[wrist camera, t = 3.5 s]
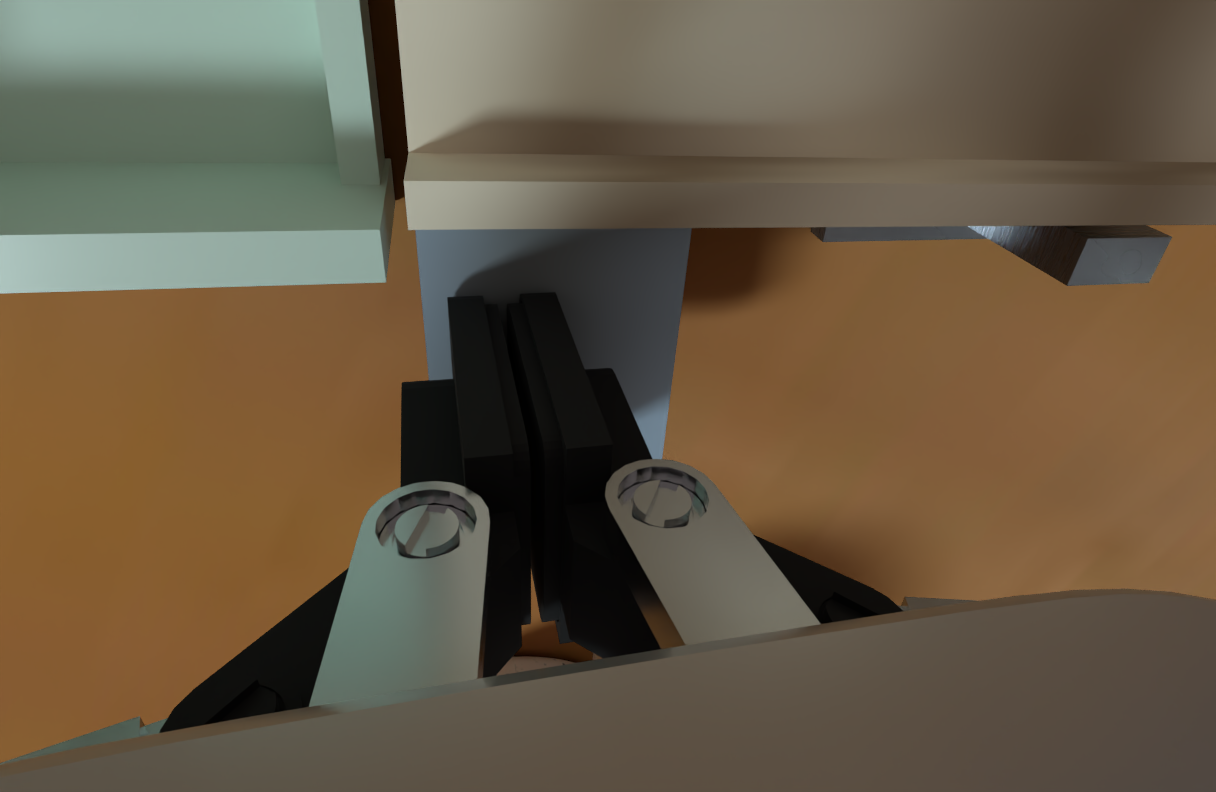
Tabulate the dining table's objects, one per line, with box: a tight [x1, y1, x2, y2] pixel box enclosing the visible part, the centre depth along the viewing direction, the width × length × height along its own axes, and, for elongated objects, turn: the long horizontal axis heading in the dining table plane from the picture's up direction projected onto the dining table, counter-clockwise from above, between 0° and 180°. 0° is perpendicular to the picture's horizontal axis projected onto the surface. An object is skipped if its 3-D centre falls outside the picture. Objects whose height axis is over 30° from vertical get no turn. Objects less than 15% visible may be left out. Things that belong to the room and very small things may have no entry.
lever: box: [395, 0, 1216, 459], centre depth 11 cm, size 22×13×3 cm, turn 86°
